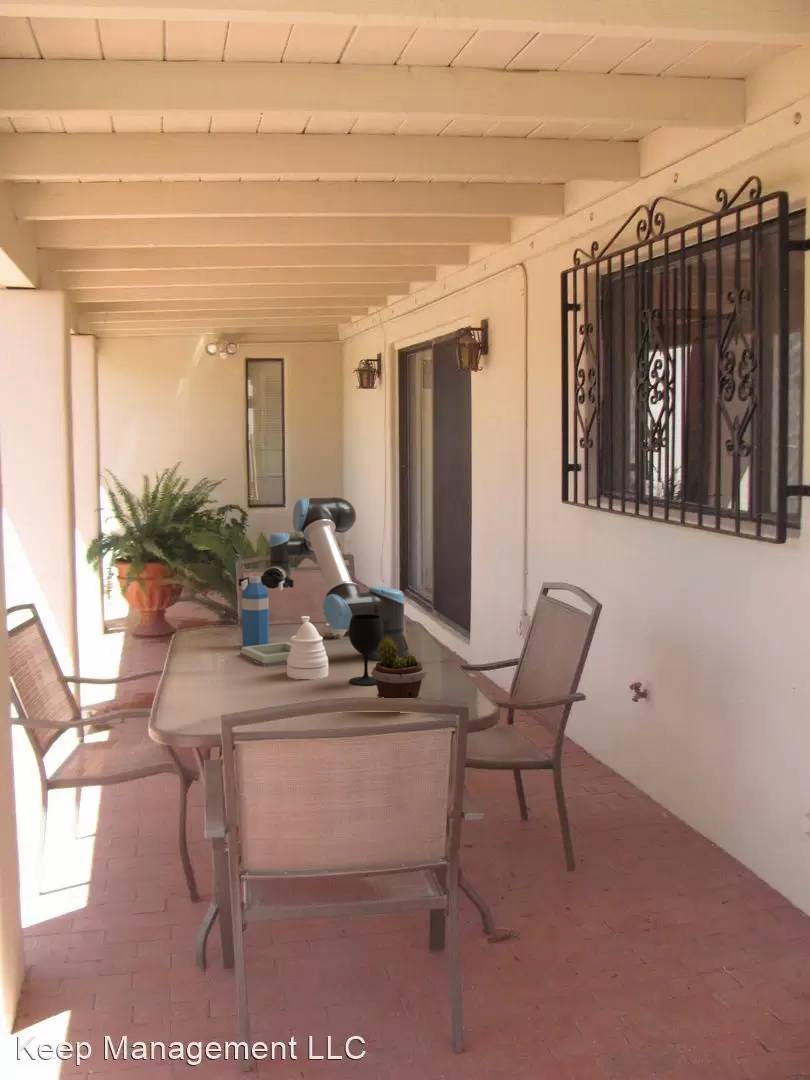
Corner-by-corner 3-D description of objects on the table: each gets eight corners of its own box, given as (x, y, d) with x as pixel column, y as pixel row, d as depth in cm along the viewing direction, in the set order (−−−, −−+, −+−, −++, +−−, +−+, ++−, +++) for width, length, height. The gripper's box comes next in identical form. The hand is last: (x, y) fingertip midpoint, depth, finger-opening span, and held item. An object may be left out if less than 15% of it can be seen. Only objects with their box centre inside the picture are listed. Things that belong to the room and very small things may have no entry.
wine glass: (370, 687, 308) (370, 621, 306) (341, 683, 314) (341, 617, 311) (389, 680, 317) (389, 615, 315) (361, 676, 322) (361, 612, 320)
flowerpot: (435, 703, 291) (435, 633, 289) (405, 716, 278) (406, 642, 276) (391, 695, 299) (392, 627, 297) (361, 707, 286) (361, 636, 284)
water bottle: (237, 649, 360) (236, 577, 358) (250, 643, 369) (250, 574, 366) (260, 651, 357) (260, 579, 354) (274, 646, 365) (273, 575, 363)
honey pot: (281, 672, 327) (281, 615, 325) (320, 668, 332) (320, 613, 330) (294, 681, 315) (293, 623, 313) (334, 677, 320) (333, 620, 318)
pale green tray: (312, 660, 343) (312, 651, 343) (265, 666, 334) (265, 657, 334) (285, 649, 360) (285, 640, 360) (239, 654, 351) (239, 646, 351)
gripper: (306, 588, 391) (295, 597, 370) (241, 586, 393) (226, 595, 372) (306, 568, 390) (295, 577, 369) (241, 566, 392) (226, 575, 371)
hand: (261, 586), depth 371 cm, fingers open, 13 cm apart
